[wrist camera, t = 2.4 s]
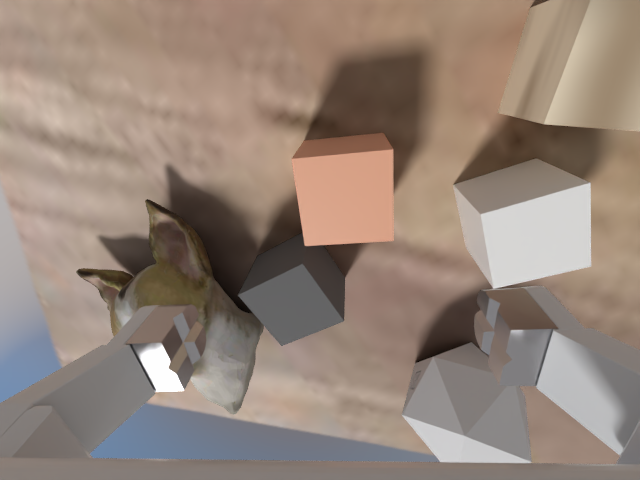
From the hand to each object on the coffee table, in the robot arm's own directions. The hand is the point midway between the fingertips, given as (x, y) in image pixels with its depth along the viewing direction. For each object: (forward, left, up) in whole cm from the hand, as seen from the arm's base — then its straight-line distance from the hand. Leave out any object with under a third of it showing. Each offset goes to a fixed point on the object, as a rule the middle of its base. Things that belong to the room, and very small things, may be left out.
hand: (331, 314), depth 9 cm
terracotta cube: (0, 0, -14) cm, 14 cm away
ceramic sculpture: (+13, +8, -14) cm, 20 cm away
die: (-8, +18, -14) cm, 24 cm away
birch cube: (-12, -5, -14) cm, 19 cm away
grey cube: (-10, +3, -14) cm, 17 cm away
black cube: (+4, +7, -14) cm, 16 cm away
